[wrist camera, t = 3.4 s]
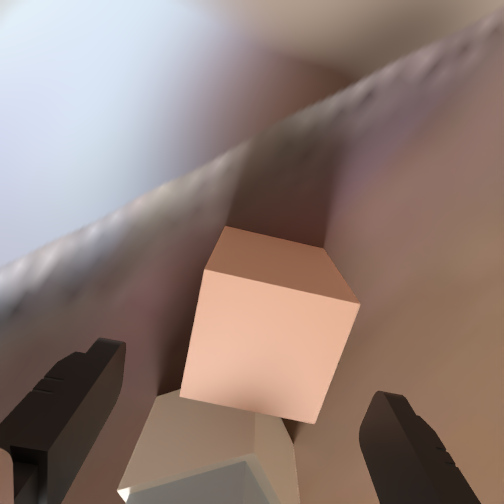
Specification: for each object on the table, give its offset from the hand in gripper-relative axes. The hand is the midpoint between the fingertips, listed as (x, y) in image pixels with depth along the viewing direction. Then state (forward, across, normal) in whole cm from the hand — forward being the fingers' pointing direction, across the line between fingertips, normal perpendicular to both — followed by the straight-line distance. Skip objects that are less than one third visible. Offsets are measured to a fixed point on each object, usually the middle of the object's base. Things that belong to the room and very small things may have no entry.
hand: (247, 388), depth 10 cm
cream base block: (+8, -1, +10) cm, 13 cm away
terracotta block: (+8, -1, 0) cm, 8 cm away
